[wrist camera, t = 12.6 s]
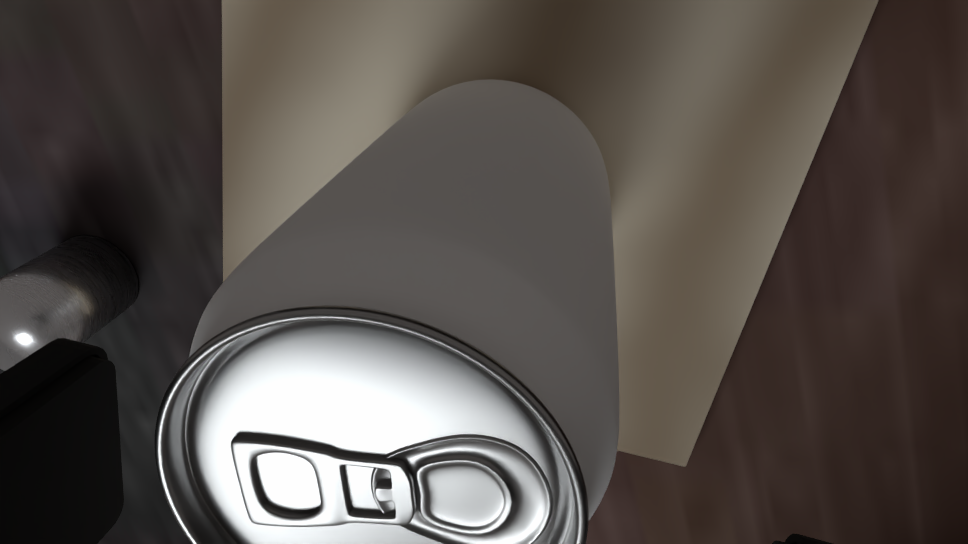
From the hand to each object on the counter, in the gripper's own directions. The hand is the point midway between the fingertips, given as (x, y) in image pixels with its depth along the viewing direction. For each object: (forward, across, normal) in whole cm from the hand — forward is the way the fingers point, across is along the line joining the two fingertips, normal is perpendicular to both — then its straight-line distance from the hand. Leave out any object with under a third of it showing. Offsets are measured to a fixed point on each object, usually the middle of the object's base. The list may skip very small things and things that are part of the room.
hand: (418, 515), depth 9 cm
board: (+12, +1, -1) cm, 12 cm away
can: (+11, +1, -1) cm, 11 cm away
